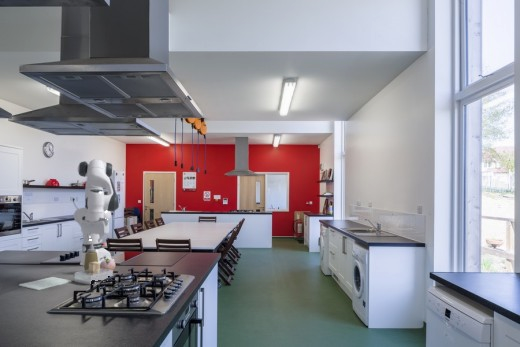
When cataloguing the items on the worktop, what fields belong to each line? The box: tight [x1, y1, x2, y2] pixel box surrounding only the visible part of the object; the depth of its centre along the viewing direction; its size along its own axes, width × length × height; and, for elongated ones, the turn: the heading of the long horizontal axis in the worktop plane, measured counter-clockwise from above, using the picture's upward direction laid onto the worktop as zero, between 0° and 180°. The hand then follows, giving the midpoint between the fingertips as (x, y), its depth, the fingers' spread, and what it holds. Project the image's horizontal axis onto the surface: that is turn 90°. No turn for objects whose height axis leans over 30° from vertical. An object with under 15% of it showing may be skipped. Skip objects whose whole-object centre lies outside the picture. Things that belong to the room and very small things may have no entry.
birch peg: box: [89, 262, 100, 273], centre depth 192 cm, size 4×4×10 cm
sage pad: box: [18, 276, 73, 291], centre depth 185 cm, size 18×18×1 cm
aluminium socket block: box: [74, 268, 114, 286], centre depth 192 cm, size 14×14×5 cm
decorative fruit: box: [100, 258, 116, 271], centre depth 206 cm, size 9×8×10 cm
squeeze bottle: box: [83, 243, 98, 270], centre depth 210 cm, size 8×8×18 cm
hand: (94, 241), depth 193 cm, fingers open, 8 cm apart
